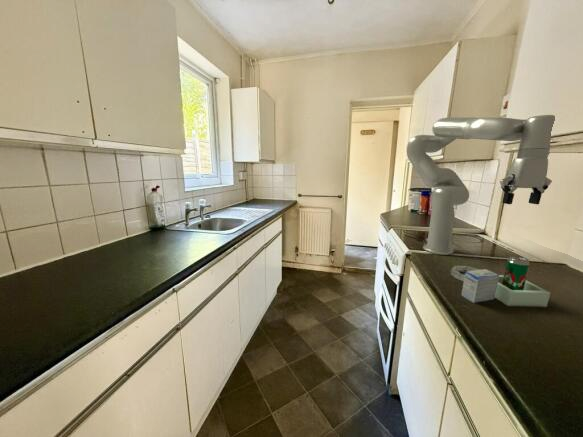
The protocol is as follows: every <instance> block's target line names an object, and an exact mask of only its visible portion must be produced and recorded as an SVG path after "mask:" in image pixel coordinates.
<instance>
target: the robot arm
mask: <svg viewBox="0 0 583 437" xmlns="http://www.w3.org/2000/svg"><path fill="white" fill-rule="evenodd" d="M555 116H556V115H555ZM555 116H554V114H544V115H543V114H541V115H534V116H531V117H529V118H528V117H527V119H521V118H512V117H443V118H439V119H438V120H436V121H435V122H434V123H433V125H432V128H431V130H432V133H433V135H431V134H418V135H415V136H413V137H411V138H410V139H409V140H408V142H407V145H406V156H407V159H408V160H409V162H410V163H411V165H412V166H413V167H414V169H415V171H416V172H417V174H418V175H419V178H421V180H422V182H423V183H424V184H425V185H426V186H427V188H431V189H432V188H434V190H433V191H432V193H431V194H430V195H431V196H430V203H431V207H430V208H431V210H430V222H429V229H428V235H427V236H428V237H427V238H426V239H425V241H426V244H424V245H423V246H422V247H423V248H422V249H424V250H425V251H426V252H428V253H431V254H435V255H442V256H444V255H445V256H448V255H452V254H454V249H453V248H452V247H451V244H452V236H453V231H454V230H453V229H454V223H455V217H456V216H455V215H456V214H455V209H454V207H455V206H461V205H463V204H465V203H467V201H469V198H470V191H469V189H468V188H467V186H466V185H465V183H464V182H463V181H462V179H461V178H460V177H459V175H458V174H457V173H456V172H455V171H454V169H451V168H448V167H440V166H438V165H437V163H436V162H435V161H434V159H433V158H432V157H431V156H430V155H428V154H431V153H432V154H433V153H437V152H439V151H441V150H443V149H444V148H445V147H447V146H448V145H450V144H452V143H453V142H454V141H455V140H457V139H459V140H472V139H474V140H486V141H504V142H517V141H520V142H519V146H518V150H517V154H516V155H517V156H516V158H514V159H513V160H512V162H511V165H510V167H509V169H508V172H507V175H506V177H505V178H503V179H500V181H499V183H500V189H502V192H503V193H504V194H503V198H502V201H501V202H502V204H505V205H512V204H513V201H514V196H515V191H516V190H518V188H519V189H531V192H530V195H529V198H528V203H529V204H532V205H540V202H541V198H542V194H544V193H545V191H546V190H547V189H548V188H549V186H550V185H551V183H552V182H553V181H552V180H551V179H550V178H548V177H547V175H548V169H549V159H548V157H549V156H550V154H551V153H550V151H551V148H552V147H551V145H552V144H551V145H550V140H551V131H552V127H553V124H554V121H555Z"/></svg>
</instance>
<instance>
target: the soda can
mask: <svg viewBox="0 0 583 437" xmlns="http://www.w3.org/2000/svg"><path fill="white" fill-rule="evenodd" d="M530 265H531V264H530V261H529V260H528V259H527V258H524V257H519V256H509V258H508V259H506V264H505V269H504V273H503V275H504V276H503V281H502V285H504V286H506V287H507V288H509V289H511V290H524V286H525V282H526V281H527V278H528V273H529V269H530Z"/></svg>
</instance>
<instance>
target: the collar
mask: <svg viewBox="0 0 583 437" xmlns="http://www.w3.org/2000/svg"><path fill="white" fill-rule="evenodd" d="M474 270H481V269H480V268H475V267H472V266H468V265H454V266H453V267H452V268H451V269H450V275H451V276H452V277H454V278H455V279H457V280H459V281H461V282H464V278H465V274H464V273H465V272H467V271H474Z"/></svg>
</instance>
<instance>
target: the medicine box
mask: <svg viewBox="0 0 583 437" xmlns="http://www.w3.org/2000/svg"><path fill="white" fill-rule="evenodd" d="M464 275H465V278H464V281H463V284H462V290H461V296H462V297H464V298H465V299H466V300H468V301H470V302H471V303H480V302H487V301H493V300H495V299H496V298H495V293H496V289H497V284H498V280H499V275H500V274H498V273H495V272H494V271H491V270H490V269H486V268H484V269H480V270H474V271H467V272H464Z"/></svg>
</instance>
